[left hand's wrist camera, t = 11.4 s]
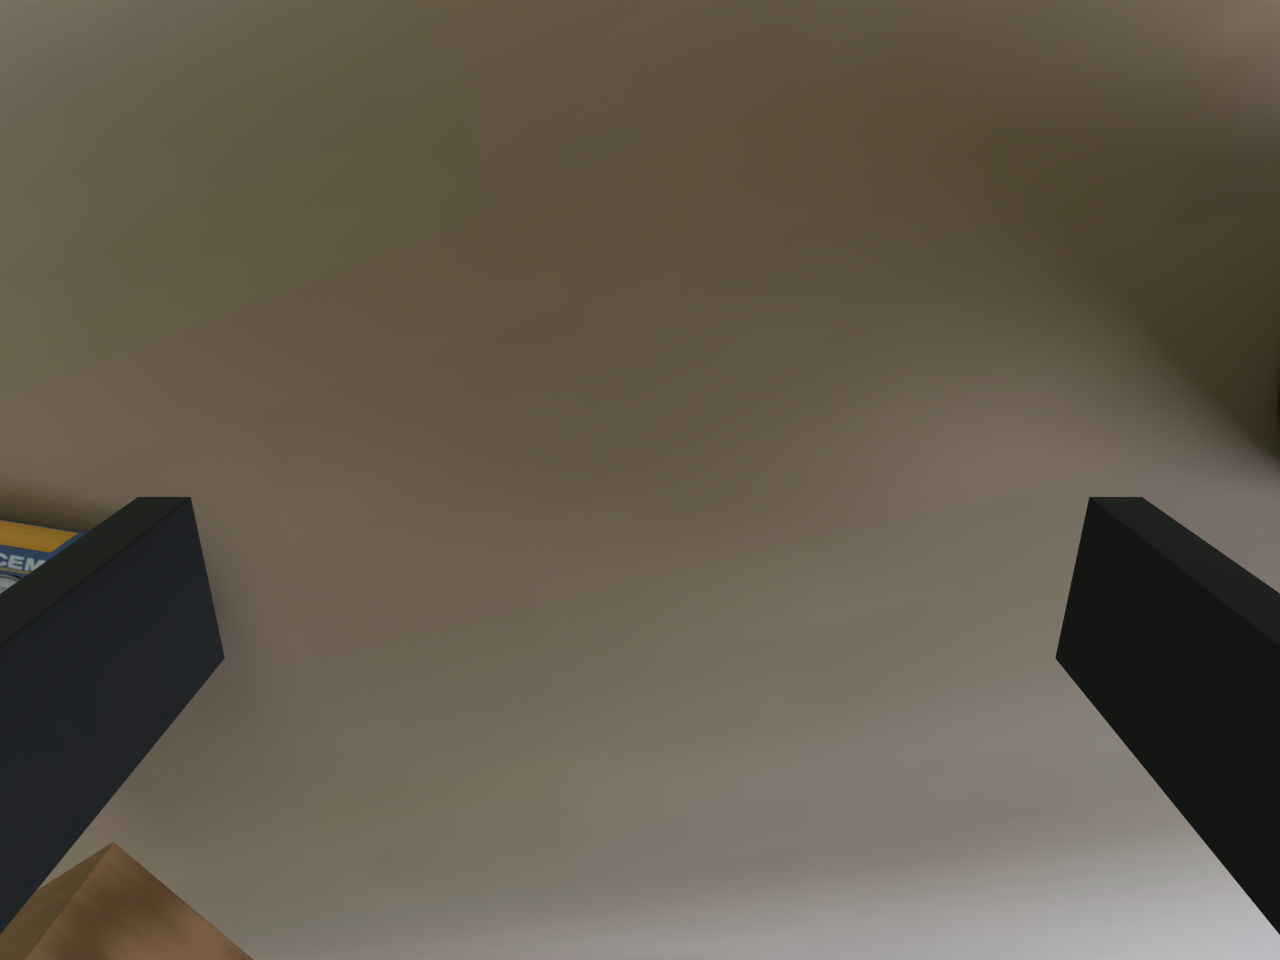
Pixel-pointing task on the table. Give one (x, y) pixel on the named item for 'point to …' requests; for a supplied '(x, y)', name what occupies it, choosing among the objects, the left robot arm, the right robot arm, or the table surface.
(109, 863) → the box
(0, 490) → the table surface
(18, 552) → the blue yellow printed carton
